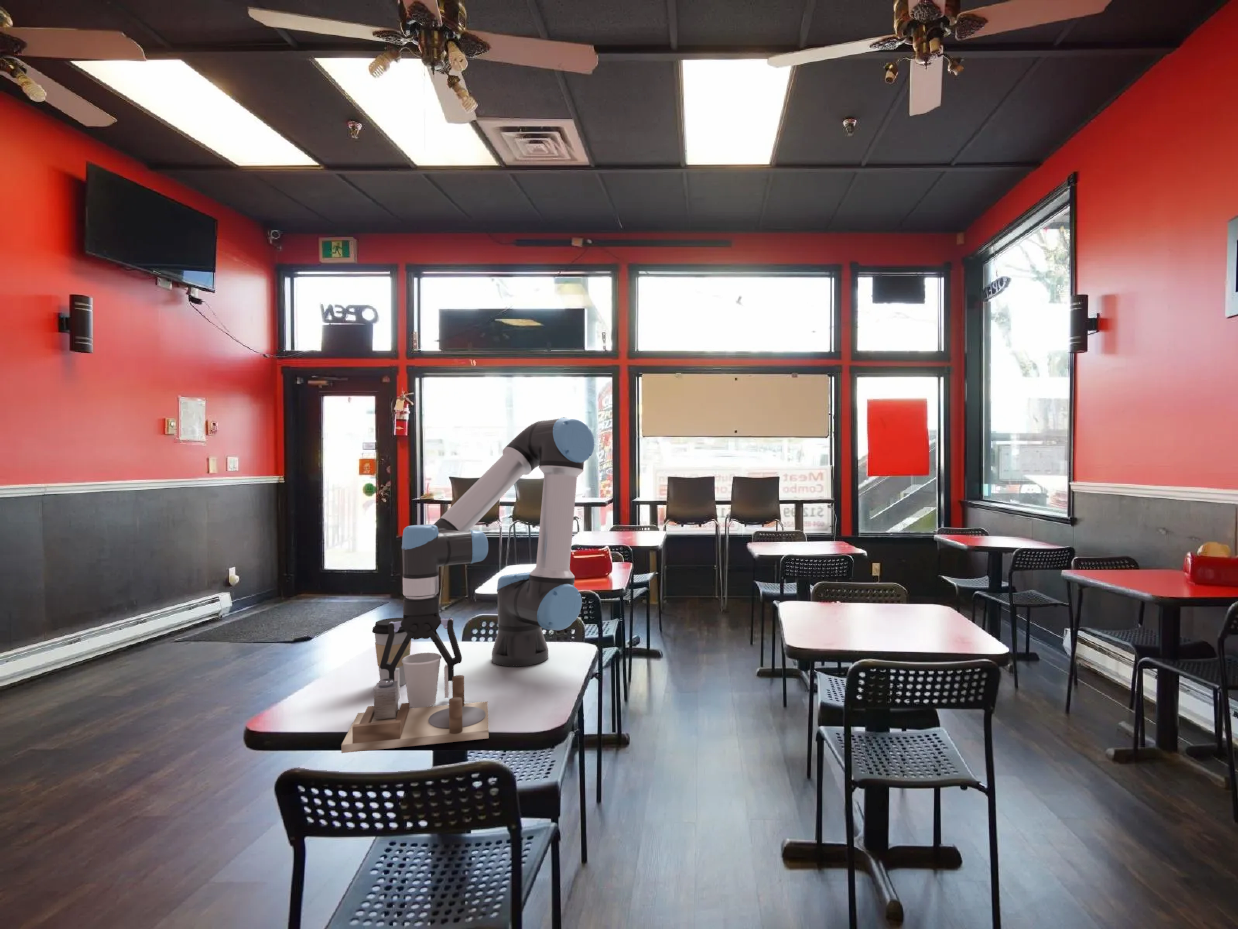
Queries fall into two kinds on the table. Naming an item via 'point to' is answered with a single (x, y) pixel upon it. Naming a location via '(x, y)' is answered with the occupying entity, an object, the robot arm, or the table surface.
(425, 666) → the dixie cup
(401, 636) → the coffee cup
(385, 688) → the grey square bottle
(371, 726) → the board
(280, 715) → the table surface
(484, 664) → the table surface
